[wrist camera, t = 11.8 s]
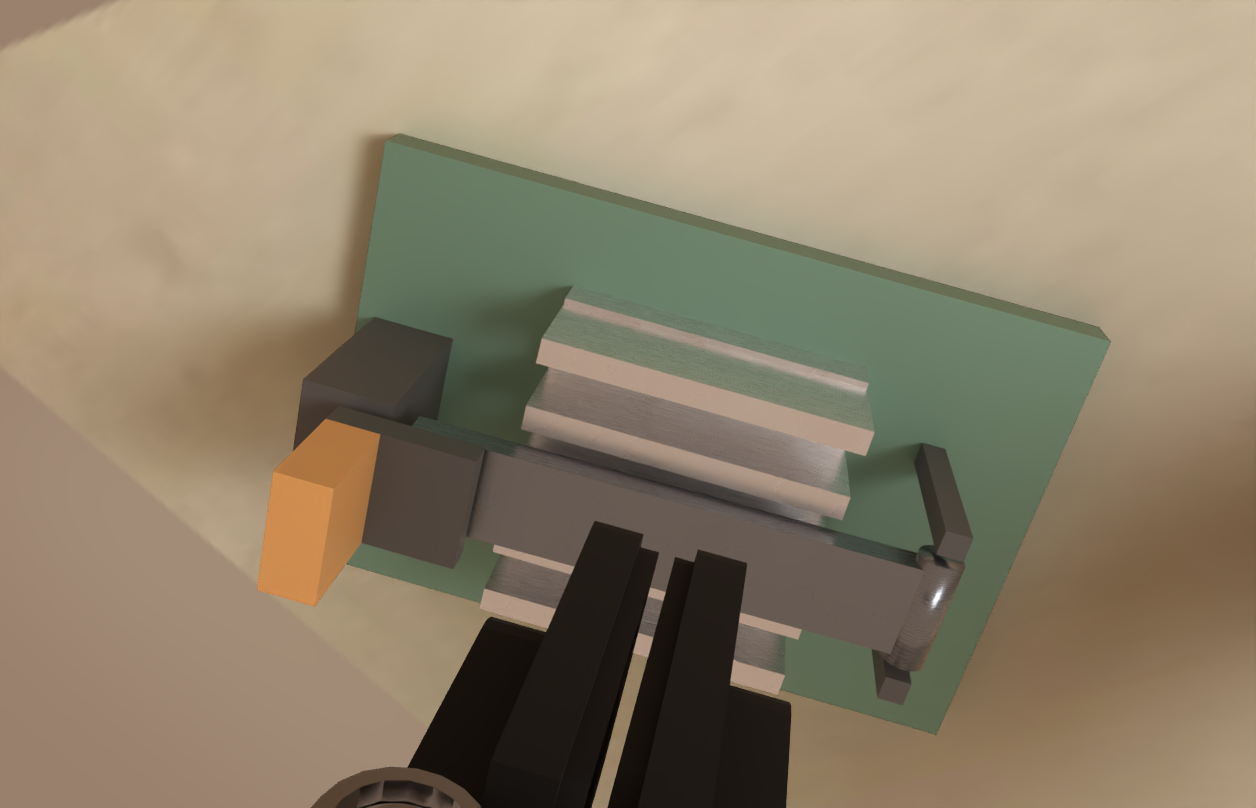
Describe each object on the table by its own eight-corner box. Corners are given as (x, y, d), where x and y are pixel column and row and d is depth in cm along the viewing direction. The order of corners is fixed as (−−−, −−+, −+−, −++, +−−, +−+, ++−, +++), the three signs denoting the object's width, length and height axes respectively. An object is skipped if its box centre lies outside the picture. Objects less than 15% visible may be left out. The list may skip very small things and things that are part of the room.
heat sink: (866, 367, 37) (876, 425, 33) (777, 616, 41) (775, 700, 36) (573, 285, 37) (543, 331, 33) (512, 540, 41) (478, 613, 37)
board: (1098, 327, 37) (1172, 416, 30) (931, 709, 43) (959, 859, 36) (400, 133, 38) (309, 175, 31) (333, 537, 44) (245, 650, 37)
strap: (961, 552, 34) (969, 576, 33) (920, 649, 35) (926, 676, 34) (423, 404, 34) (409, 422, 33) (403, 507, 35) (389, 528, 34)
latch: (485, 447, 32) (440, 519, 28) (462, 552, 34) (416, 636, 30) (338, 405, 33) (273, 471, 28) (321, 512, 34) (257, 589, 30)
